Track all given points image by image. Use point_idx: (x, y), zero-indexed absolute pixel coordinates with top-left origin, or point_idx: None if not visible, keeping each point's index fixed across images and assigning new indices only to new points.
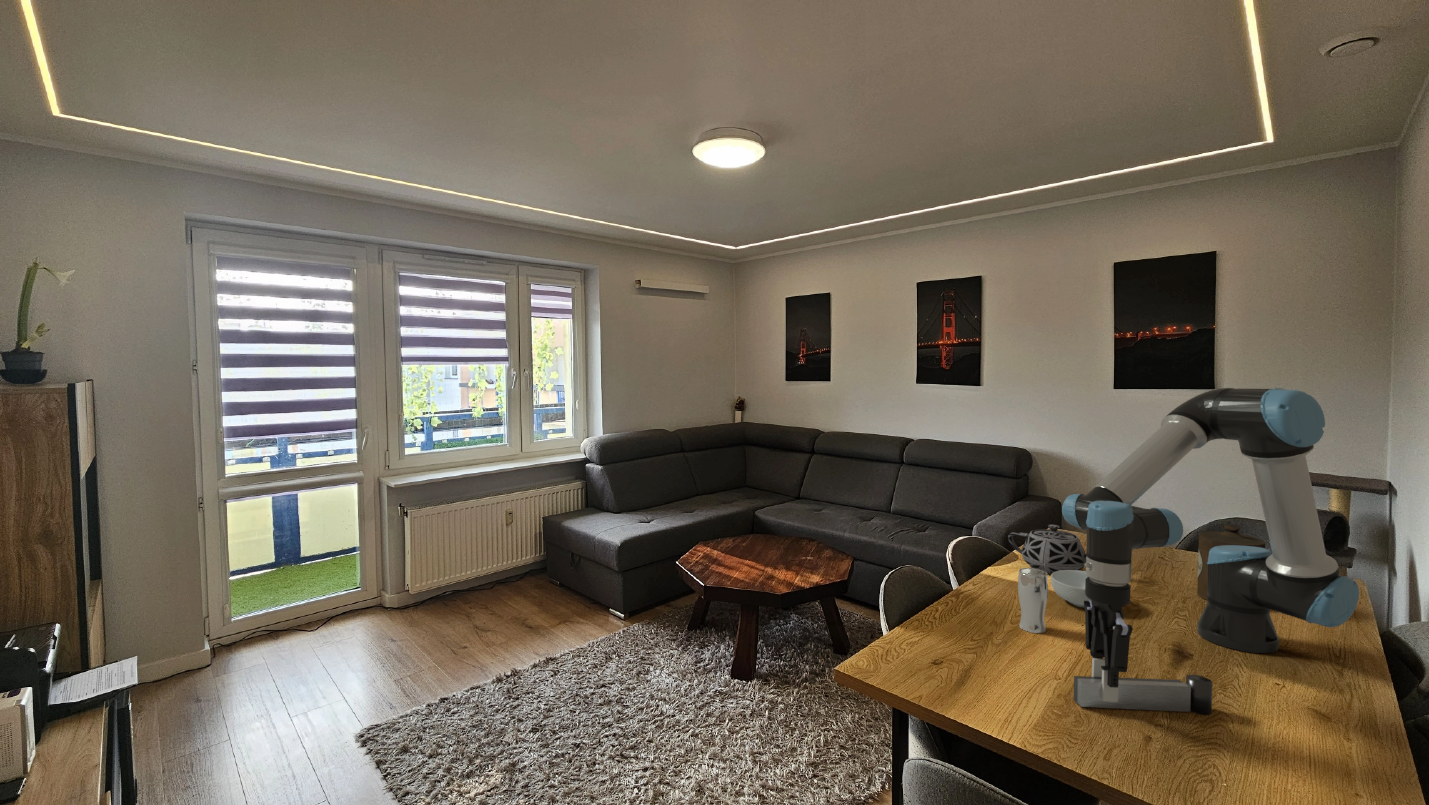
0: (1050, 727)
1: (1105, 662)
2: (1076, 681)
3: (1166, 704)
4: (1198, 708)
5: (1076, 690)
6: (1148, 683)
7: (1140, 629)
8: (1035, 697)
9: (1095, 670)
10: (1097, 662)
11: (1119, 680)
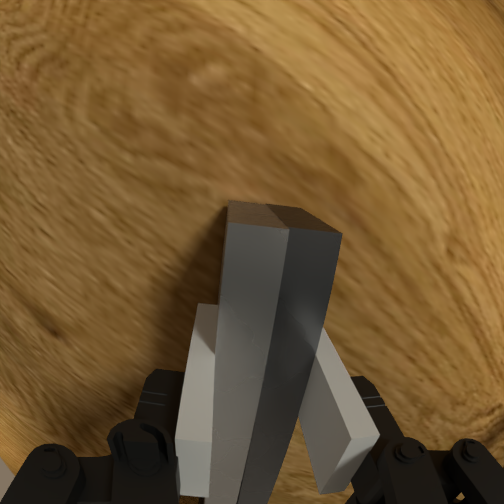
0: (102, 9)
1: (164, 495)
2: (300, 225)
3: None
4: (202, 502)
5: (286, 213)
6: (217, 499)
7: None
8: (329, 51)
9: (325, 389)
10: (338, 440)
11: (245, 443)
